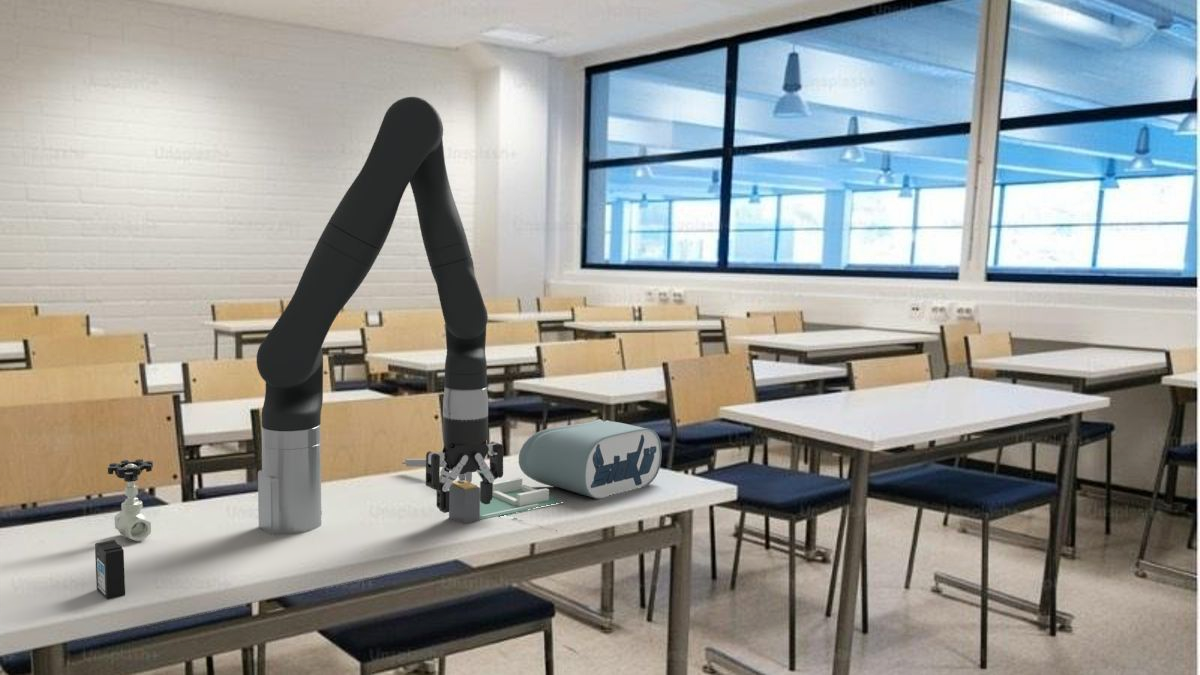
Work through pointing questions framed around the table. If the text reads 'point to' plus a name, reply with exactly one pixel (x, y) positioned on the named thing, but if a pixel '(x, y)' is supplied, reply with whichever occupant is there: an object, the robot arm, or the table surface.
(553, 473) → the pencil case
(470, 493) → the switch
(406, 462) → the caliper
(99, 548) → the ink cartridge
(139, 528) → the valve
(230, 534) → the table surface
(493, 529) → the table surface
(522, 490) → the board
